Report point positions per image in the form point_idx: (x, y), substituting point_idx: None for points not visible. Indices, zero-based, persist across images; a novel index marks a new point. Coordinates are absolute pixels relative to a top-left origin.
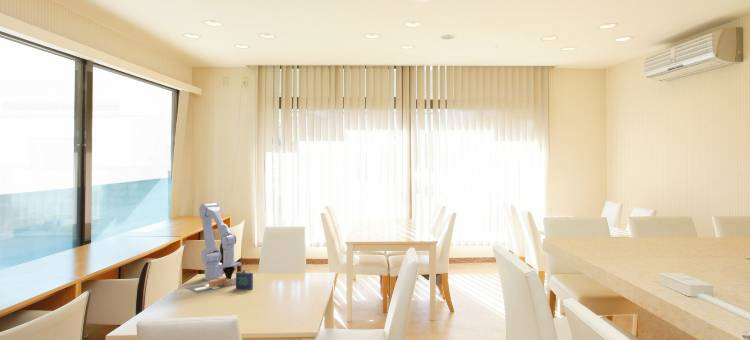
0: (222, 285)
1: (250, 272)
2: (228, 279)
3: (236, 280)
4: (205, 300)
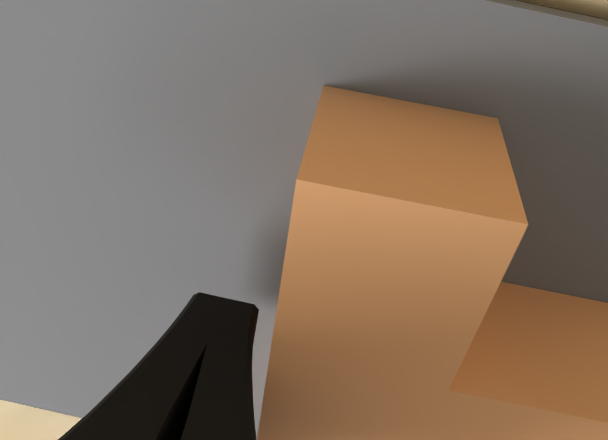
0: None
1: None
2: (362, 276)
3: None
4: None
